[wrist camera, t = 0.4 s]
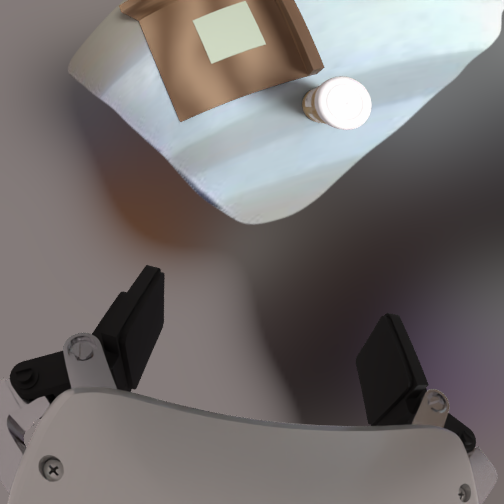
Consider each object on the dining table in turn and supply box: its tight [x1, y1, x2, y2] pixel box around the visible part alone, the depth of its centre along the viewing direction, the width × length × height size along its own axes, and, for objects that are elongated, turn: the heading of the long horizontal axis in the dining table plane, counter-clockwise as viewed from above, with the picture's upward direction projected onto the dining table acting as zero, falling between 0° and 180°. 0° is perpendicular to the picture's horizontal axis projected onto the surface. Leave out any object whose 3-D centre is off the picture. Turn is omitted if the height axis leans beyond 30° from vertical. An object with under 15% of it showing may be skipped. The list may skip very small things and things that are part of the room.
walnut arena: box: [119, 0, 324, 122], centre depth 25 cm, size 18×18×6 cm
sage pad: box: [193, 1, 266, 64], centre depth 26 cm, size 7×7×1 cm
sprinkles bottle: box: [302, 76, 371, 130], centre depth 25 cm, size 5×5×14 cm
